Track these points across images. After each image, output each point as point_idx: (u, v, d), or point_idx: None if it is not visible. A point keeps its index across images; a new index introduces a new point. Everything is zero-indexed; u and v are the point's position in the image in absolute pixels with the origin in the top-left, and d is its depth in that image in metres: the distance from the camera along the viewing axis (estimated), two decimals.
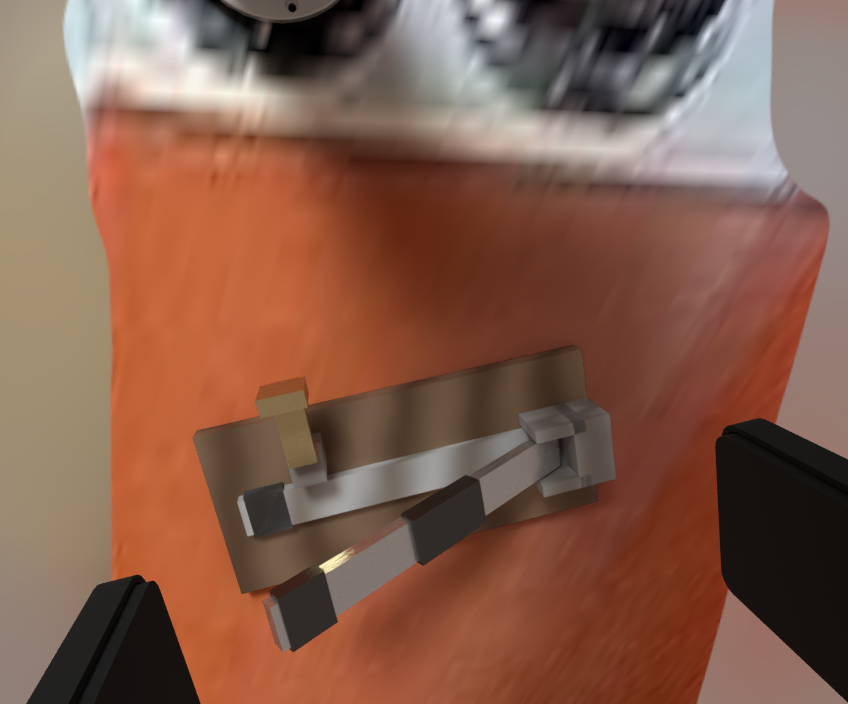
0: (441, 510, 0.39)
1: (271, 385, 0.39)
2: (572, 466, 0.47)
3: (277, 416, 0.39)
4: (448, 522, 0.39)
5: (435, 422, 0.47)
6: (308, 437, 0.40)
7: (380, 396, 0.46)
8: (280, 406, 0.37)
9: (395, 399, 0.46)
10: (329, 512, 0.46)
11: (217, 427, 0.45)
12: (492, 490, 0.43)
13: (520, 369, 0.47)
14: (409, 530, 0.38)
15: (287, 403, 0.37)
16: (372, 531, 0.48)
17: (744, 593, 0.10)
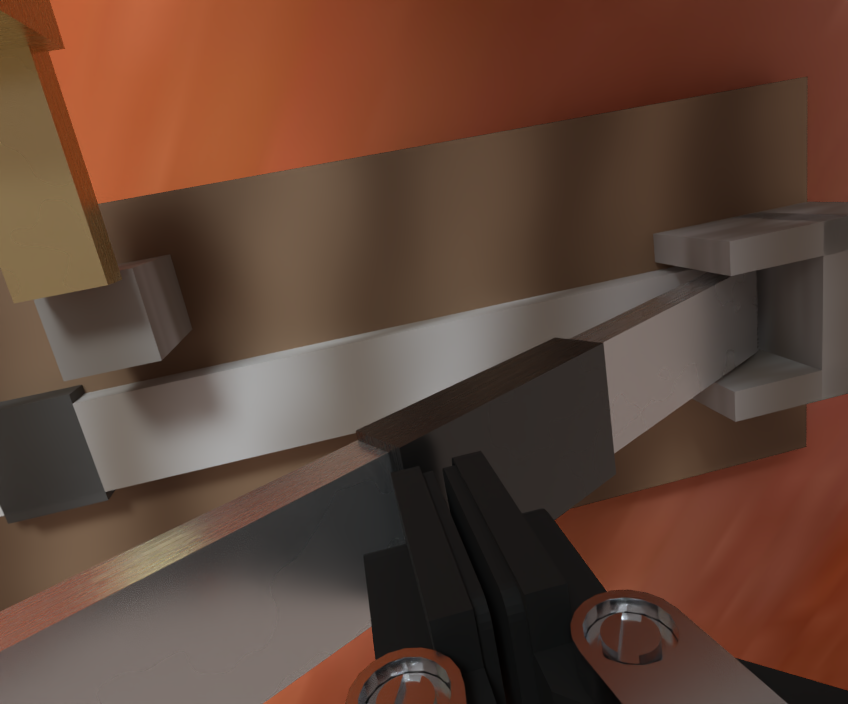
0: (495, 422, 0.12)
1: None
2: (793, 350, 0.19)
3: None
4: (515, 465, 0.12)
5: (460, 245, 0.19)
6: (67, 197, 0.13)
7: (323, 167, 0.18)
8: None
9: (362, 177, 0.18)
10: (199, 461, 0.19)
11: None
12: (627, 385, 0.15)
13: (665, 118, 0.20)
14: (384, 485, 0.10)
15: None
16: None
17: None
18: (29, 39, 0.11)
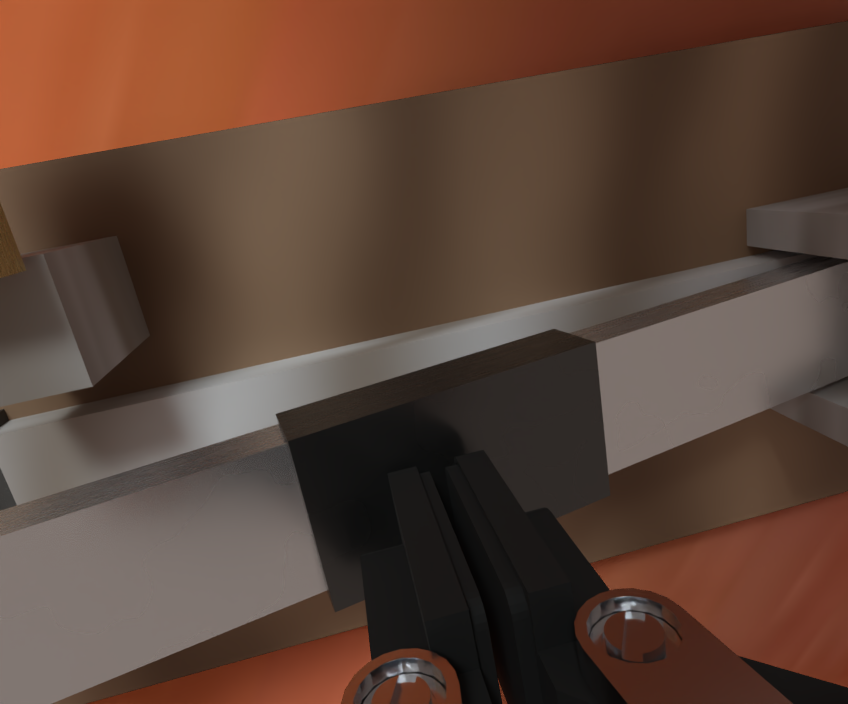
0: (423, 423, 0.10)
1: None
2: None
3: None
4: None
5: (501, 223, 0.15)
6: None
7: (322, 118, 0.14)
8: None
9: (373, 132, 0.14)
10: None
11: None
12: (643, 392, 0.13)
13: (769, 56, 0.15)
14: (281, 476, 0.10)
15: None
16: None
17: None
18: None
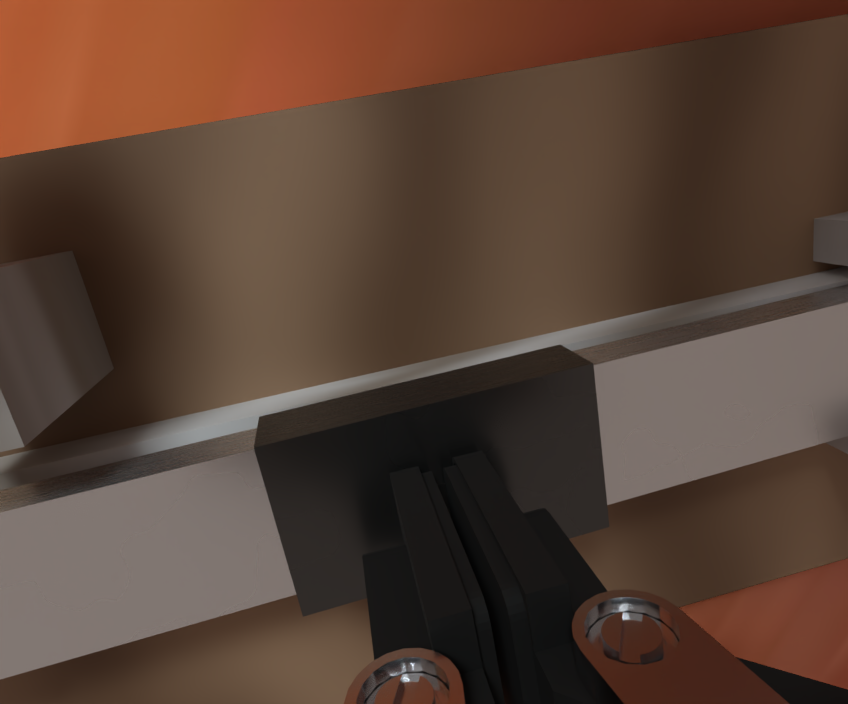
0: (395, 438, 0.10)
1: None
2: None
3: None
4: None
5: (531, 236, 0.13)
6: None
7: (320, 110, 0.11)
8: None
9: (381, 127, 0.12)
10: None
11: None
12: (656, 419, 0.11)
13: (846, 40, 0.13)
14: (253, 480, 0.10)
15: None
16: (306, 625, 0.14)
17: None
18: None
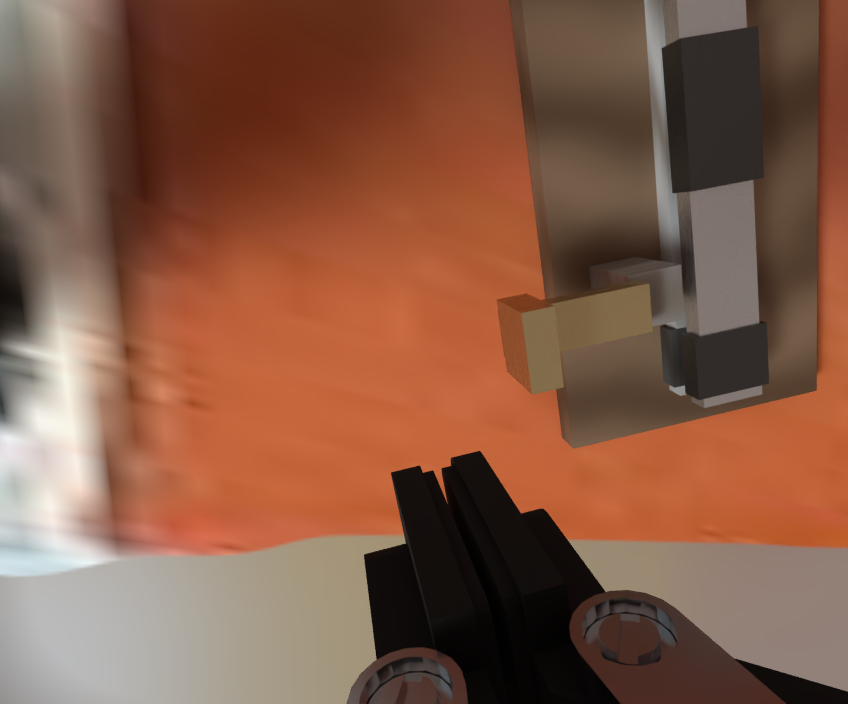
0: (697, 133, 0.24)
1: (507, 355, 0.23)
2: None
3: (560, 347, 0.23)
4: (721, 119, 0.24)
5: (600, 58, 0.26)
6: (603, 298, 0.23)
7: (542, 161, 0.27)
8: (546, 353, 0.21)
9: (550, 134, 0.26)
10: None
11: (561, 411, 0.31)
12: None
13: None
14: (701, 194, 0.25)
15: (542, 341, 0.20)
16: (769, 184, 0.29)
17: None
18: None
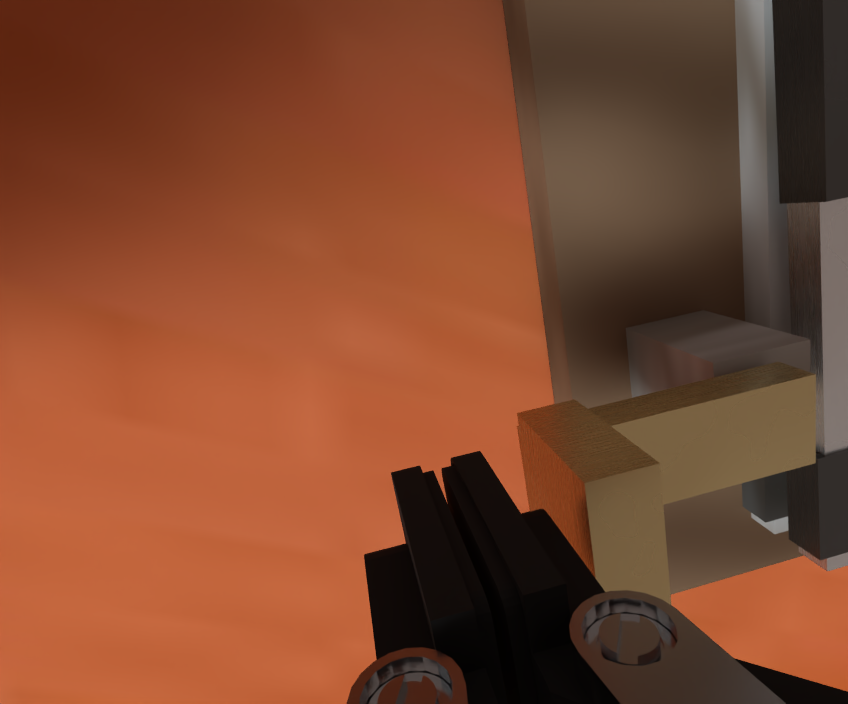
0: (843, 90, 0.13)
1: None
2: None
3: None
4: None
5: None
6: (728, 406, 0.12)
7: (545, 148, 0.15)
8: (638, 564, 0.09)
9: (560, 99, 0.15)
10: None
11: None
12: None
13: None
14: (840, 206, 0.14)
15: (630, 539, 0.09)
16: None
17: None
18: None
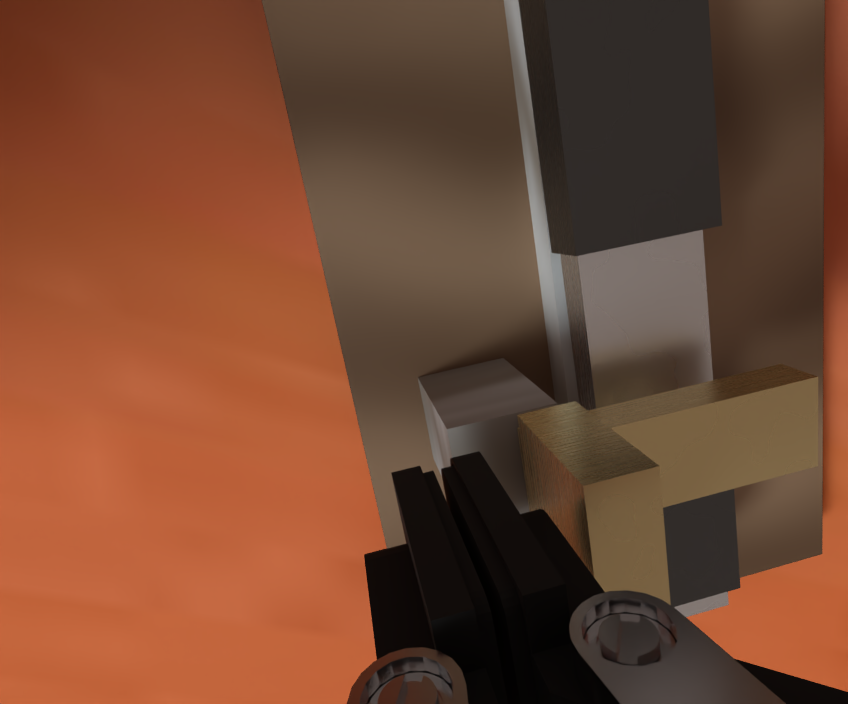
0: (584, 139, 0.12)
1: None
2: None
3: None
4: (633, 111, 0.12)
5: None
6: (729, 408, 0.12)
7: (311, 193, 0.14)
8: (638, 567, 0.09)
9: (321, 142, 0.14)
10: None
11: None
12: None
13: None
14: (601, 258, 0.13)
15: (630, 542, 0.09)
16: (739, 226, 0.16)
17: None
18: None
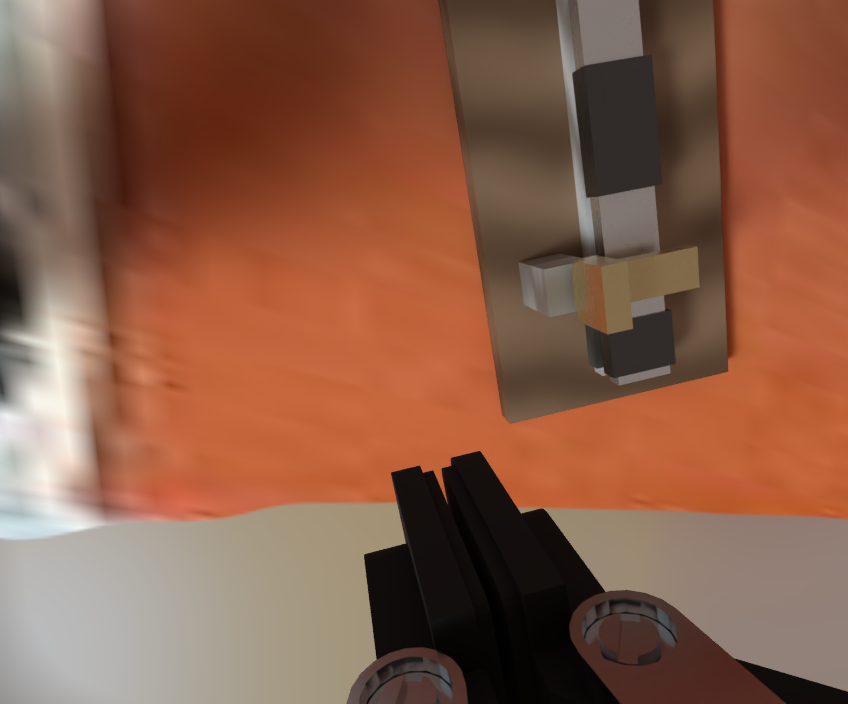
0: (602, 146, 0.28)
1: (580, 306, 0.28)
2: None
3: None
4: (623, 134, 0.28)
5: (522, 81, 0.30)
6: (659, 258, 0.28)
7: (473, 170, 0.30)
8: (620, 300, 0.25)
9: (480, 147, 0.30)
10: None
11: (500, 391, 0.35)
12: (609, 30, 0.28)
13: None
14: (609, 198, 0.29)
15: (617, 290, 0.25)
16: (677, 188, 0.33)
17: None
18: None
